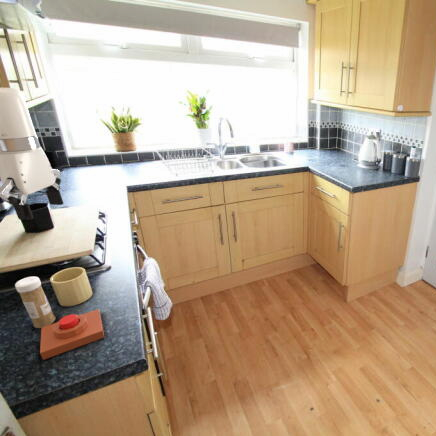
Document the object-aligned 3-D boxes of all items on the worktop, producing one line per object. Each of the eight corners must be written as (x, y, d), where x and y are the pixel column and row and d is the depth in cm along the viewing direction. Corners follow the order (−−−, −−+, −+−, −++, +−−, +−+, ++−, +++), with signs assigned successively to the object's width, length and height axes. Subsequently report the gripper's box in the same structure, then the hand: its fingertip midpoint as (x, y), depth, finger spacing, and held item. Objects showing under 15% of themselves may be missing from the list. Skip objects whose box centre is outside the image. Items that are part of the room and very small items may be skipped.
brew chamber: (59, 310, 89) (49, 286, 86) (59, 295, 95) (50, 272, 91) (93, 299, 94) (86, 276, 90) (91, 285, 99) (84, 264, 96)
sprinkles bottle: (58, 321, 85) (41, 279, 80) (37, 331, 82) (18, 288, 76) (51, 314, 87) (34, 273, 82) (30, 324, 84) (11, 282, 78)
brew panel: (43, 360, 74) (37, 347, 72) (44, 334, 81) (39, 321, 79) (104, 337, 81) (100, 325, 79) (100, 315, 88) (96, 303, 86)
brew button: (60, 332, 77) (58, 326, 76) (60, 323, 79) (58, 318, 79) (79, 325, 79) (77, 320, 78) (78, 317, 82) (76, 312, 81)
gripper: (32, 137, 82) (53, 199, 89) (-37, 152, 67) (-4, 225, 74) (62, 138, 83) (80, 199, 90) (0, 153, 67) (29, 226, 74)
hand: (42, 211), depth 82 cm, fingers open, 9 cm apart
